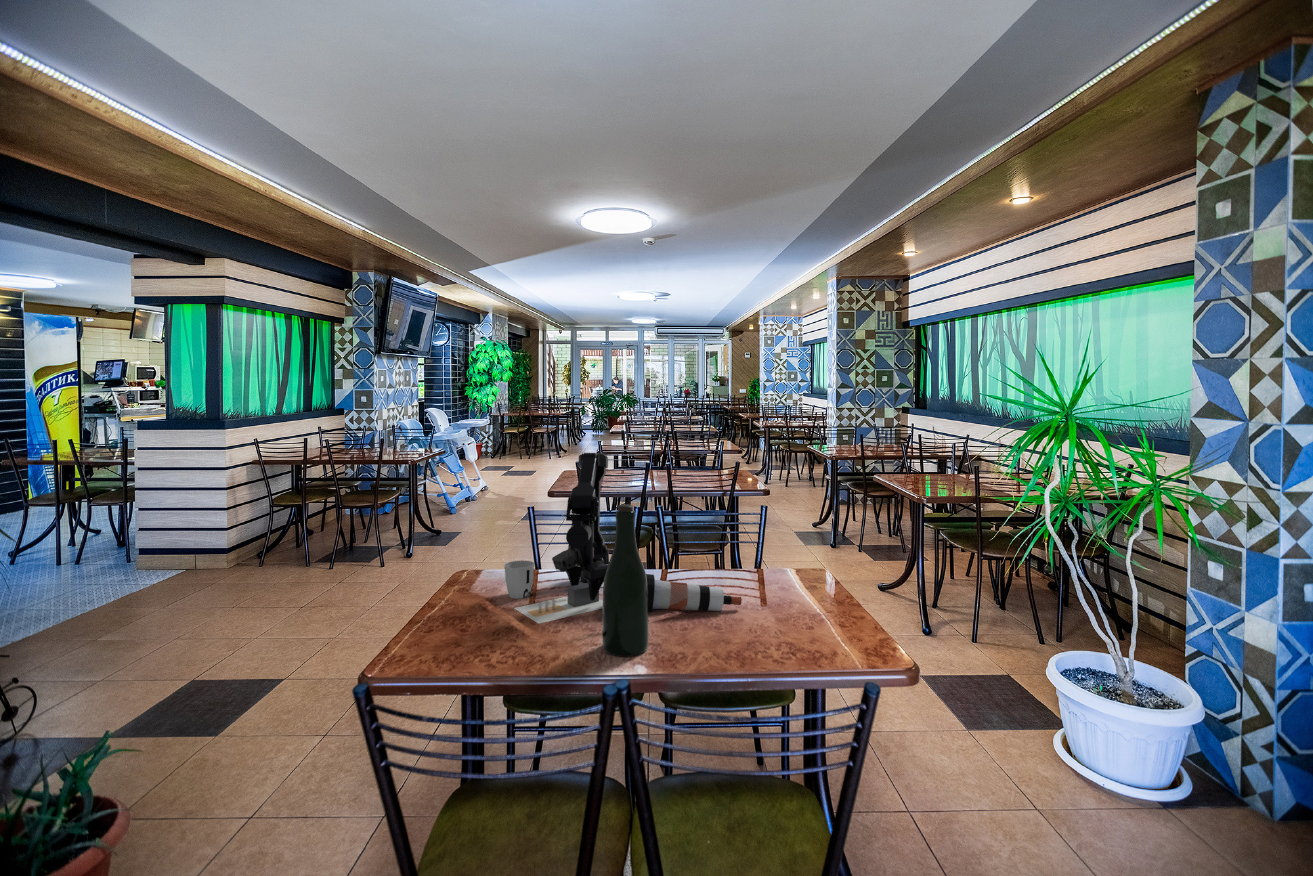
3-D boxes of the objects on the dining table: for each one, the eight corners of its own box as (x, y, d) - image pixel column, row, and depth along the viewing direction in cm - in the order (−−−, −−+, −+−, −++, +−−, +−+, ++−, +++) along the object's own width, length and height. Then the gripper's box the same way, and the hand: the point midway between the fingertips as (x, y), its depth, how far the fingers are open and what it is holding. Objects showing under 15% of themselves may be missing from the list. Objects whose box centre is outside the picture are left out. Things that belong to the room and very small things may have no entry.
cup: (528, 604, 178) (528, 568, 177) (500, 603, 179) (499, 567, 178) (538, 595, 186) (538, 561, 185) (511, 594, 187) (510, 559, 186)
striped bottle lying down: (739, 629, 173) (747, 601, 168) (611, 619, 170) (615, 591, 164) (734, 600, 182) (741, 573, 176) (612, 591, 178) (616, 563, 173)
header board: (585, 596, 185) (585, 583, 185) (613, 609, 174) (613, 596, 174) (513, 612, 172) (513, 598, 172) (538, 628, 161) (538, 613, 160)
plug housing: (592, 597, 180) (592, 581, 180) (599, 601, 177) (599, 584, 177) (567, 603, 175) (567, 587, 175) (574, 607, 173) (573, 590, 172)
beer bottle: (623, 636, 156) (623, 499, 153) (657, 647, 149) (658, 504, 147) (592, 649, 148) (592, 505, 145) (627, 662, 141) (627, 511, 139)
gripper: (539, 536, 178) (540, 593, 179) (574, 550, 163) (575, 611, 164) (575, 531, 184) (575, 585, 186) (612, 544, 170) (612, 602, 171)
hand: (583, 596), depth 176 cm, fingers open, 9 cm apart
